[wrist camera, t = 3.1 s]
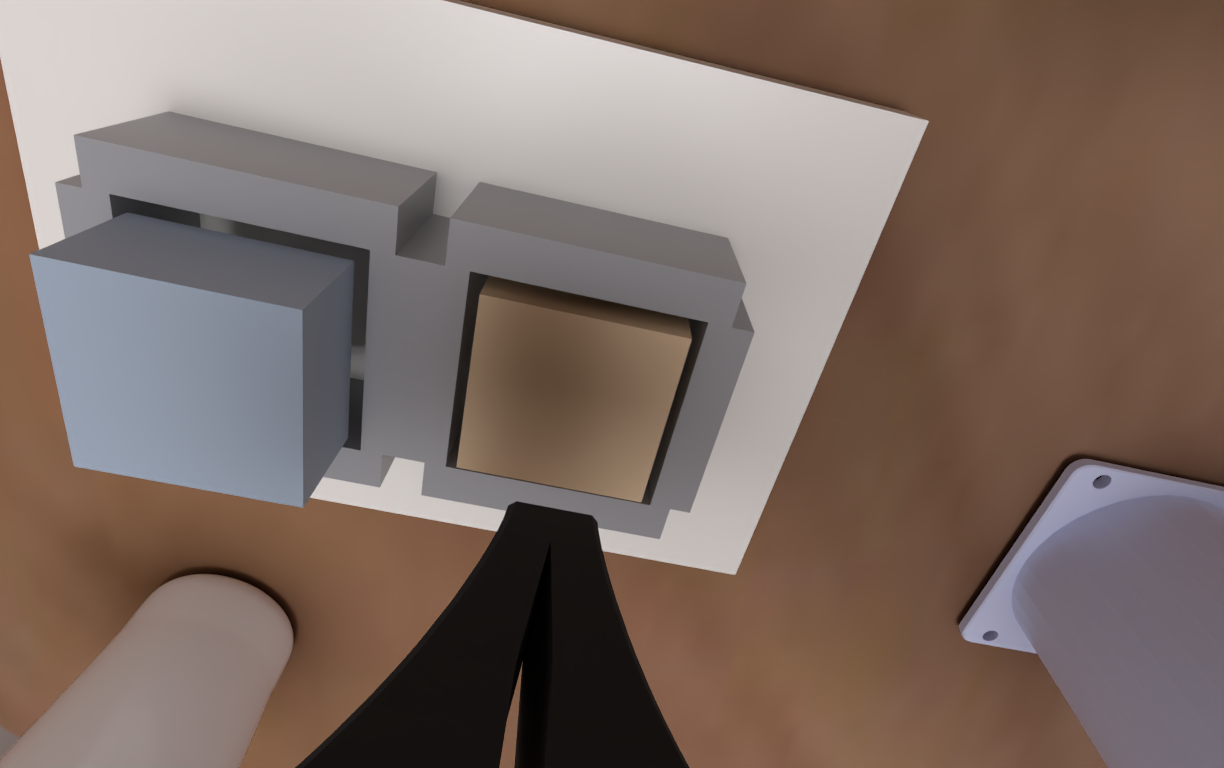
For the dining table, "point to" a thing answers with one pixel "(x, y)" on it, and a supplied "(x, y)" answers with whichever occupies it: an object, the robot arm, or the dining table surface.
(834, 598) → the dining table surface
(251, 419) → the key slate
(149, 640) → the drinking glass
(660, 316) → the key oak
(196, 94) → the key panel
